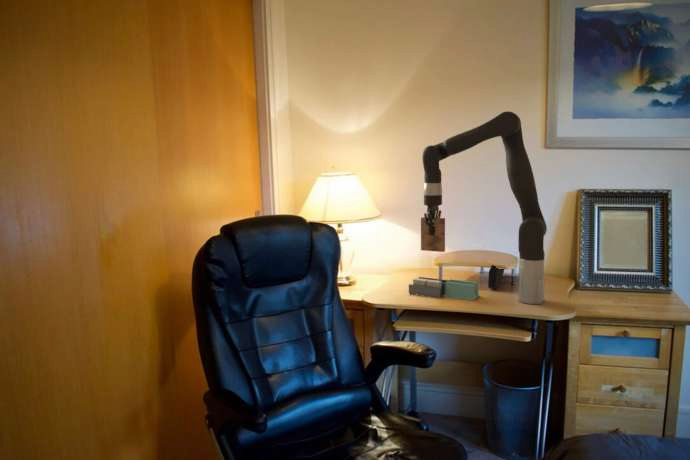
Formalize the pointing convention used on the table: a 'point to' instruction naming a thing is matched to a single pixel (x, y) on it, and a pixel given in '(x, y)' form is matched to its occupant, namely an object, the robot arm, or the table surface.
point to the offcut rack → (429, 289)
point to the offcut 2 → (433, 283)
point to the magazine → (494, 276)
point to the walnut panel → (433, 236)
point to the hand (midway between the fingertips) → (433, 234)
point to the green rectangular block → (462, 289)
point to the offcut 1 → (419, 281)
